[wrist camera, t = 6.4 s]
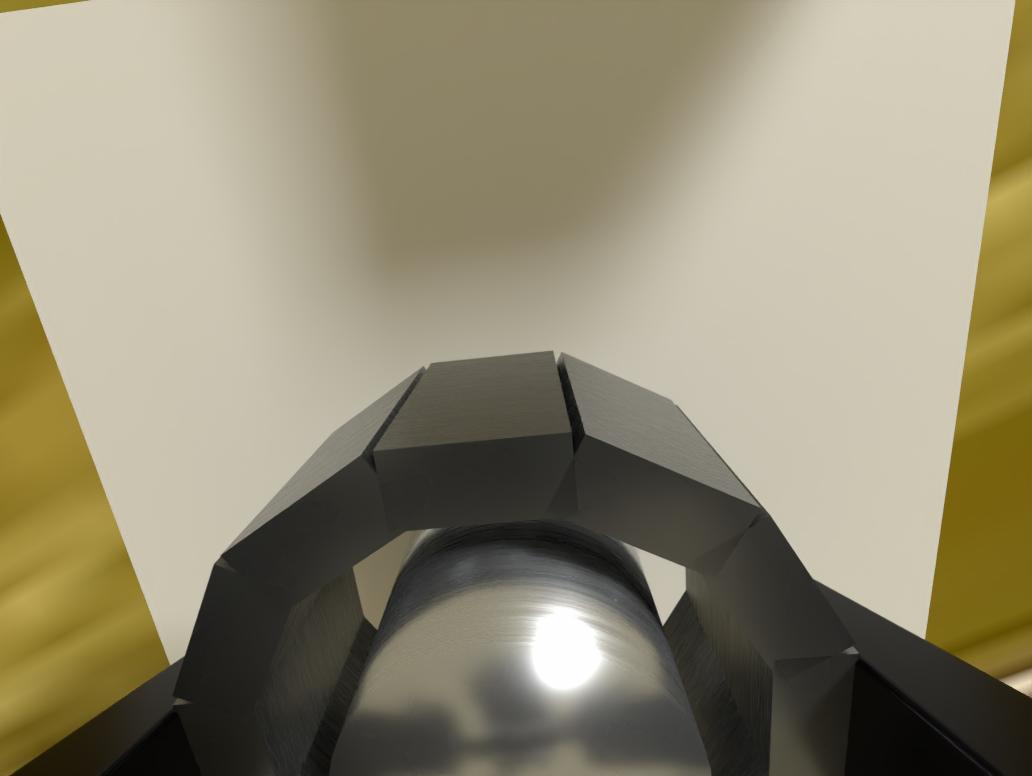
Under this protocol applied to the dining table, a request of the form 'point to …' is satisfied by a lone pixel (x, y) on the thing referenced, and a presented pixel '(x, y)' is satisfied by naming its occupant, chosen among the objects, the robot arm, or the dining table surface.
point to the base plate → (508, 243)
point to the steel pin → (520, 663)
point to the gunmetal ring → (510, 498)
